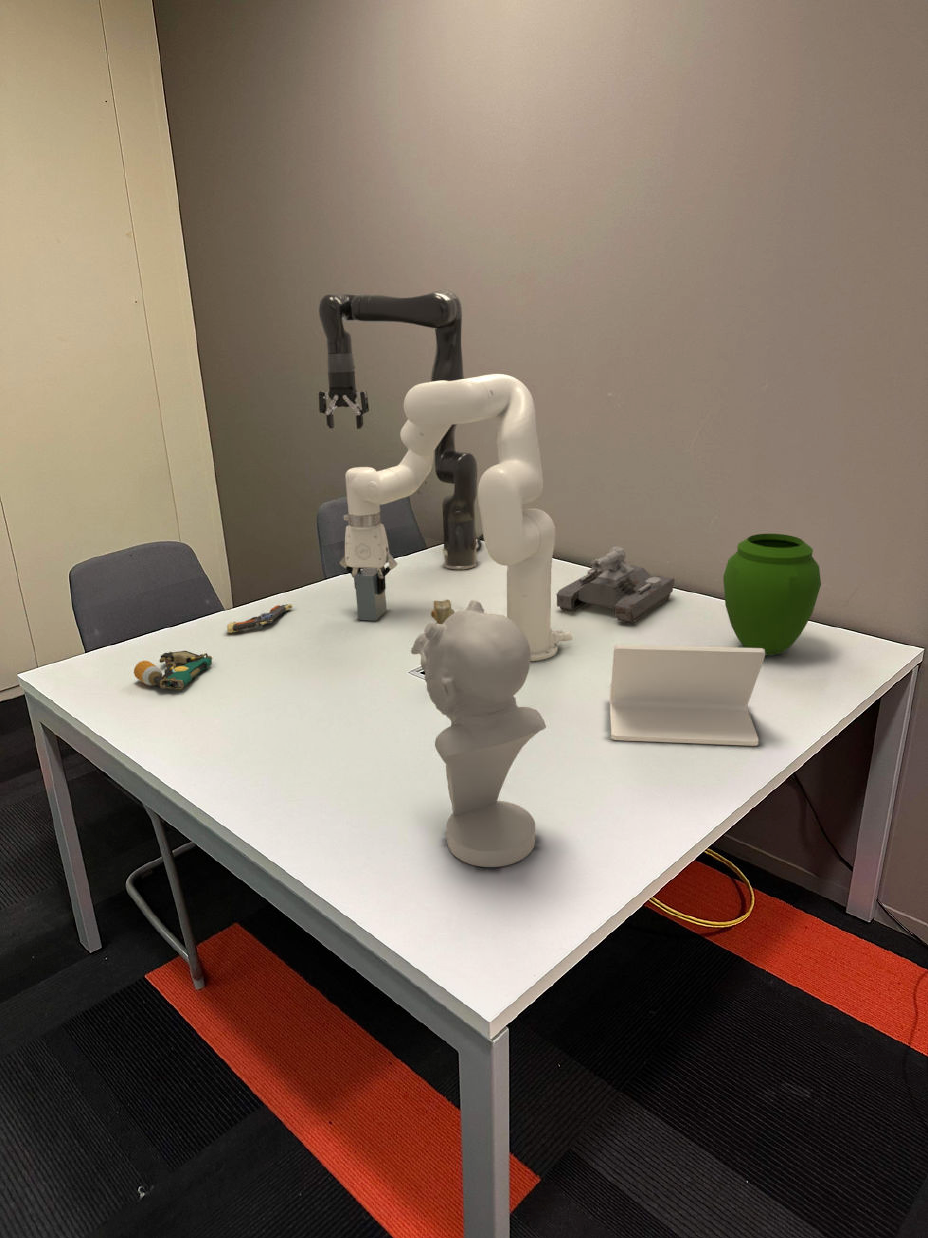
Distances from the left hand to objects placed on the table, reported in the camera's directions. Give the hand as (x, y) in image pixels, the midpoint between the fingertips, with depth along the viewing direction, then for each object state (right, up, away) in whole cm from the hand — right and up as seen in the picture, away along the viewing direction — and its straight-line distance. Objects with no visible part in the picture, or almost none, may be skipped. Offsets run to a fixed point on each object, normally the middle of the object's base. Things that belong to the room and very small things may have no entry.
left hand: (345, 428), depth 246 cm
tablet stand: (+74, -73, -90) cm, 137 cm away
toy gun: (-16, -56, -36) cm, 68 cm away
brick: (+11, -54, -34) cm, 65 cm away
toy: (+72, -52, -31) cm, 94 cm away
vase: (+99, -62, -61) cm, 132 cm away
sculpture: (+30, -66, -66) cm, 98 cm away
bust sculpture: (+35, -86, -121) cm, 153 cm away
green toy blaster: (-27, -67, -65) cm, 97 cm away
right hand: (+11, -48, -36) cm, 61 cm away
